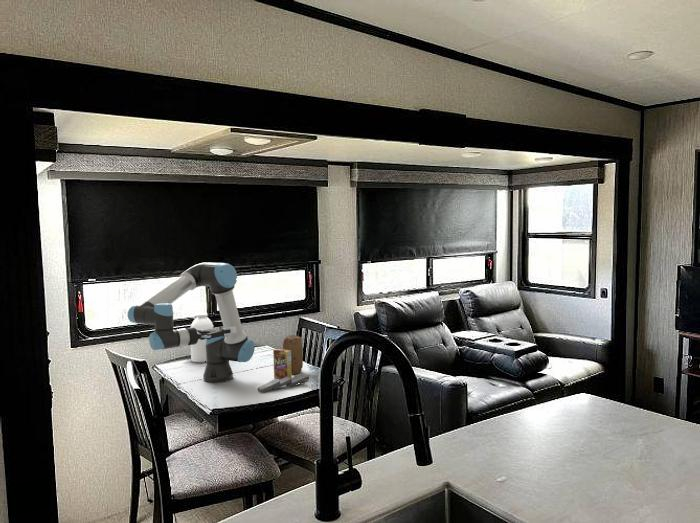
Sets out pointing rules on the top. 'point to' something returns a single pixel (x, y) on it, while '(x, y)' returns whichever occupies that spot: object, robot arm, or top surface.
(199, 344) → the bottle
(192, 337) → the robot arm
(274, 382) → the domino
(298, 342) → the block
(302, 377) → the domino
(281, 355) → the candy box
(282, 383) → the domino
